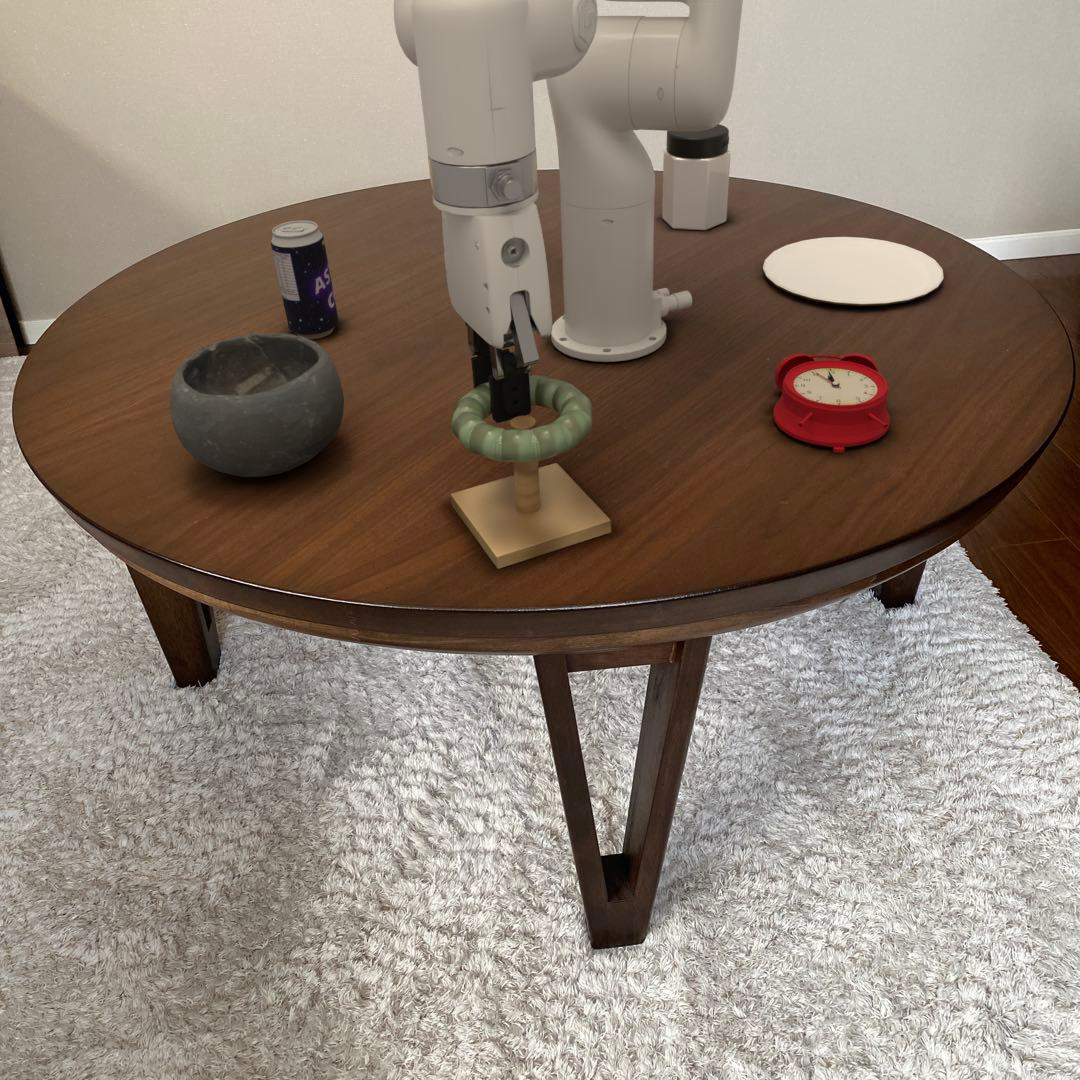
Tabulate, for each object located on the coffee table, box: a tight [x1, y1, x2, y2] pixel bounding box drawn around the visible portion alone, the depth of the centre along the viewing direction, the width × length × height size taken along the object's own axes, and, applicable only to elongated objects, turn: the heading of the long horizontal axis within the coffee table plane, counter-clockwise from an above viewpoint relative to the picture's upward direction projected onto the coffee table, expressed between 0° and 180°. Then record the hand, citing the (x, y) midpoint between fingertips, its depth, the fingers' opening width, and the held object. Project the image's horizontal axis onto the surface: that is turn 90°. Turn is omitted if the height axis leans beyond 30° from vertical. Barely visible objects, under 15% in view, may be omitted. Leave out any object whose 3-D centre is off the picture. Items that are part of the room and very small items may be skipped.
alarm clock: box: [772, 352, 891, 454], centre depth 93 cm, size 10×6×15 cm
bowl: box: [169, 332, 345, 478], centre depth 89 cm, size 15×15×10 cm
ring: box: [450, 375, 593, 463], centre depth 77 cm, size 11×11×2 cm
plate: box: [762, 236, 945, 307], centre depth 120 cm, size 21×21×1 cm
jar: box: [661, 123, 732, 231], centre depth 135 cm, size 9×8×12 cm
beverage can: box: [270, 219, 340, 340], centre depth 111 cm, size 6×6×12 cm
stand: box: [449, 415, 612, 570], centre depth 80 cm, size 10×10×9 cm
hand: (502, 405), depth 81 cm, fingers closed on ring, 2 cm apart
